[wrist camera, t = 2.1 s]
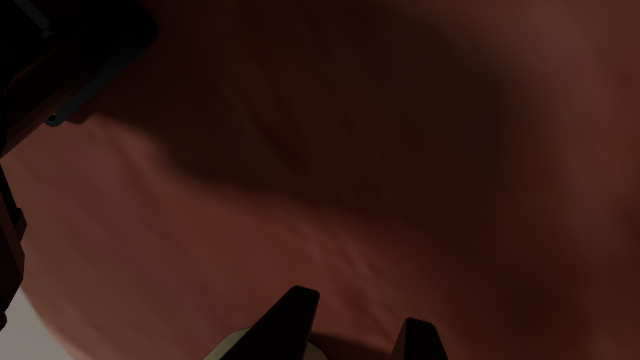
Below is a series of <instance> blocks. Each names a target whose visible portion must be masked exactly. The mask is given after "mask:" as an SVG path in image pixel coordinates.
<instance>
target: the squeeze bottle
mask: <svg viewBox="0 0 640 360" xmlns="http://www.w3.org/2000/svg"><path fill="white" fill-rule="evenodd" d="M250 328H251V327H250ZM250 328H246V329H242V330H239V331H235V332H232V333H231V334H230V335H229V336H228V337H227V338H225V339H224V340H223V341H222V342H221V343H220V344H219V345H218V346H217V347H216V348H215V349H214V350H213V351H212V352H211V353H210V354H209V355H208V356H207V357H206V358H205V359H204V360H219V359H220V358H221V357H222V356H223V355H224V354H225V353H226V352H227V351H228V350H229V349H230V348H231V347H232V346H233V345H234V344H235V343H236V342H237V341H238V340H239V339H240V338H241V337H242V336H243V335H244V334H245V333H246V332H247V331H248V330H249V329H250ZM303 360H328V359H327V358H326V356H325V355H324V354H323V352H322V351H321V350H320V349H318V348H317V347H315V346H314V345H312V344H311V343H310V342H308V344H307V347H306V351H305V355H304V358H303Z"/></svg>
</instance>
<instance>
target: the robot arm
mask: <svg viewBox="0 0 640 360" xmlns="http://www.w3.org/2000/svg"><path fill="white" fill-rule="evenodd" d="M137 26H141V27H142V28H144V29H145V31H146V34H147V36H143V35H142V34H140V33H139V31H138V28H137ZM158 33H159V30H158V26H157V24H156V23H155V21H154V20H153V19H152V18H151V17H150V16H149V14H148V13H147V12H146V11H145V10H144V9H143V8H142V7H141V6H140V4H139V3H138V2H137V1H136V0H0V159H1V158H2V157H4V156H5V155H6V154H7V153H8V152H9V151H11V150H12V149H13V148H14V147H15V146H16V145H18V144H19V143H20V142H21V141H22V140H23V139H25V138H26V137H27V136H28V135H29V134H30V133H32V132H33V131H34V130H35V129H36V128H37V127H38V126H40V125H41V124H42V123H43V122H44V123H45V124H46V125H49V126H51V127H57V126H59V125H60V124H61V123H63V122H64V121H65V120H66V119H67V118H68V117H69V116H71V115H72V114H73V113H74V112H75V111H76V110H77V109H78V108H80V107H81V106H82V105H83V104H84V103H85V102H86V101H88V100H89V99H90V98H91V97H92V96H93V95H94V94H95V93H97V92H98V91H99V90H100V89H101V88H102V87H103V86H105V85H106V84H107V83H108V82H109V81H110V80H111V79H112V78H114V77H115V76H116V75H117V74H118V73H119V72H120V71H122V70H123V69H124V68H125V67H126V66H127V65H128V64H129V63H131V62H132V61H133V60H134V59H135V58H136V57H137V56H139V55H140V54H141V53H142V52H143V51H144V50H145V49H146V48H148V47H149V46H150V45H151V44H152V43H153V42H154V41H155V40H156V39H157V37H158ZM54 113H55V115H56V116H55V115H53V114H54ZM26 227H27V223H26V220H25V217H24V215H23V212H22V210H21V209H20V208H17V207H16V204H15V201H14V199H13V196H12V194H11V191H10V188H9V186H8V183H7V180H6V178H5V175H4V172H3V170H2V167H1V164H0V331H1V330H2V329H3V328H4V326H5V325H6V323H7V317H6V314H5V311H6V309H7V308H8V307H9V305H10V303H11V301H12V299H13V297H14V295H15V294H16V292H17V290H18V288H19V286H20V284H21V282H22V280H23V273H24V260H25V254H24V252H23V249H22V247H21V244H20V242H21V240H22V237H23V235H24V232H25V229H26ZM319 298H320V294H319V292H318V291H316V290H312V289H309V288H305V287H302V286H298V285H296V286H293V287H292V288H290V289H289V290H288V291H287V292H286V293H285V294H284V295H283V296H282V297H281V298H280V299H279V300H278V301H277V302H276V303H275V304H274V305H273V306H272V307H271V308H270V309H269V310H268V311H267V312H266V313H265V314H264V315H263V316H262V317H261V318H260V319H259V320H258V321H257V322H256V323H255V324H254V325H253V326H252V327H251V328H250V329H249V330H248V331H247V332H246V333H245V334H244V335H243V336H242V337H241V338H240V339H239V340H238V341H237V342H236V343H235V344H234V345H233V346H232V347H231V348H230V349H229V350H228V351H227V352H226V353H225V354H224V355H223V356H222V357H221V358H220V359H219V360H303V358H304V355H305V351H306V347H307V344H308V340H309V337H310V333H311V329H312V325H313V321H314V318H315V314H316V310H317V306H318V302H319ZM390 360H448V357H447V355H446V352H445V350H444V347H443V345H442V342H441V340H440V337H439V335H438V333H437V330H436V328H435V326H434V325H433V324H432V323H429V322H426V321H422V320H419V319H415V318H412V317H409V318H406V319H405V321H404V323H403V325H402V328H401V330H400V333H399V335H398V338H397V340H396V343H395V346H394V348H393V351H392V354H391V357H390Z"/></svg>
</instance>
